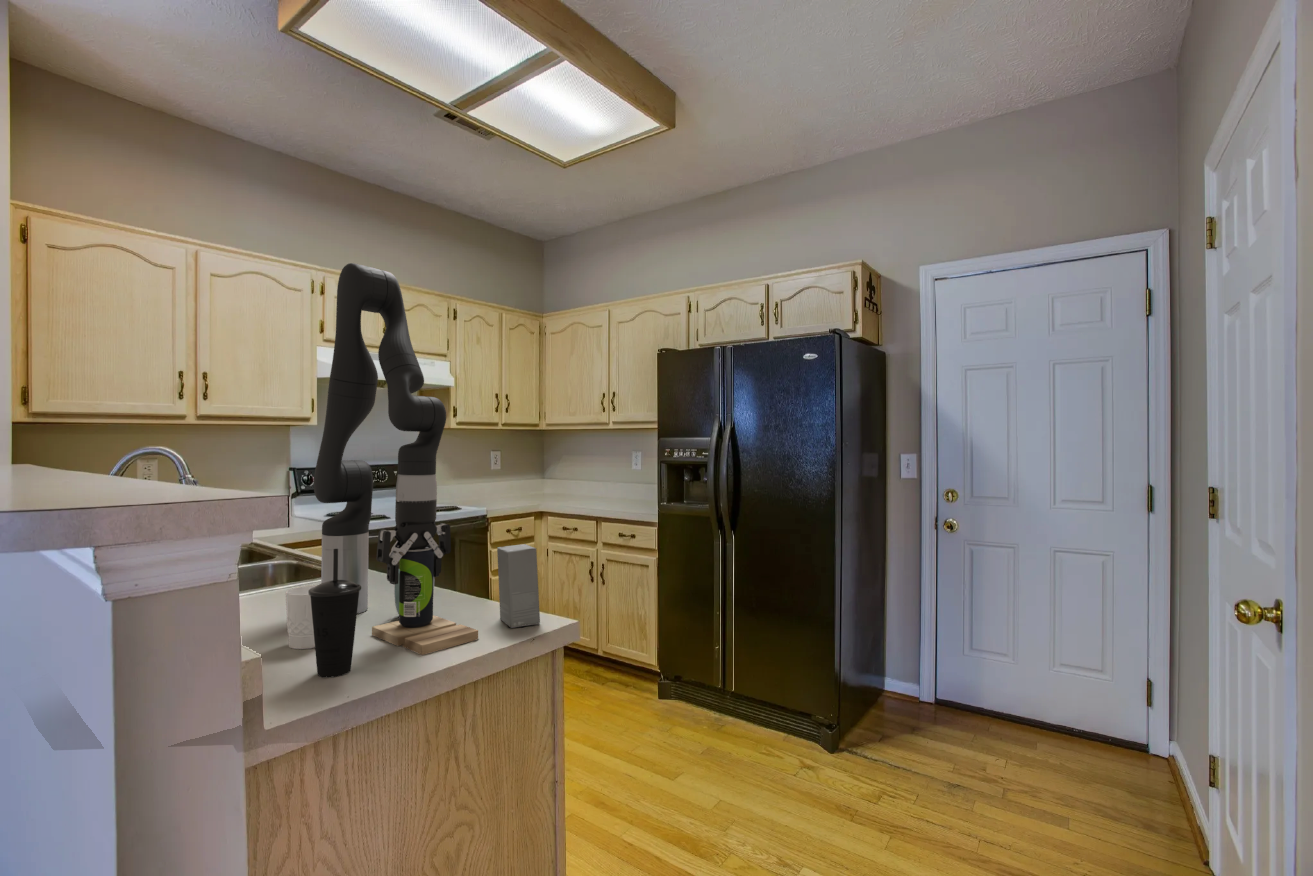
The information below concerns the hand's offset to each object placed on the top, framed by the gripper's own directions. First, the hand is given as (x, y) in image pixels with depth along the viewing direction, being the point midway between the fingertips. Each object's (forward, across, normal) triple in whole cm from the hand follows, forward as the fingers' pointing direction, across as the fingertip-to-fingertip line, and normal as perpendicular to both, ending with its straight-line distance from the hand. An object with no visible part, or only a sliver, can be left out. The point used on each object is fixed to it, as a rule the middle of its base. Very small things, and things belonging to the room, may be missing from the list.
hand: (414, 579), depth 121 cm
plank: (+10, 0, 0) cm, 10 cm away
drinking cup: (+10, +19, +10) cm, 24 cm away
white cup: (+11, +16, -8) cm, 21 cm away
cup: (+11, -6, -11) cm, 16 cm away
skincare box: (+10, -18, +9) cm, 23 cm away
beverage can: (+9, 0, 0) cm, 9 cm away
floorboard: (+10, 0, +10) cm, 14 cm away
